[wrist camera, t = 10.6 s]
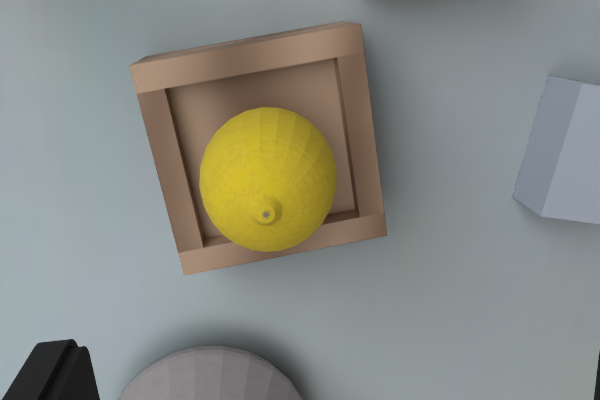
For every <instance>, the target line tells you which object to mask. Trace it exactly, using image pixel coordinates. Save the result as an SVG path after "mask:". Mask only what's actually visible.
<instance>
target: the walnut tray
mask: <svg viewBox="0 0 600 400" xmlns="http://www.w3.org/2000/svg"><path fill="white" fill-rule="evenodd" d="M129 66H130V70H131V74H132V78H133V82H134V85H135V89H136V93H137V97H138V101H139V104H140V108H141V112H142V116H143V120H144V124H145V127H146V131H147V135H148V139H149V143H150V146H151V150H152V154H153V158H154V162H155V166H156V169H157V173H158V177H159V181H160V185H161V189H162V192H163V196H164V200H165V204H166V208H167V211H168V215H169V219H170V223H171V227H172V231H173V234H174V238H175V242H176V246H177V250H178V254H179V257H180V261H181V265H182V269H183V273H184V275H189V274H194V273H199V272H204V271H209V270H214V269H219V268H224V267H229V266H234V265H239V264H244V263H249V262H254V261H260V260H265V259H270V258H275V257H280V256H285V255H290V254H295V253H300V252H305V251H310V250H315V249H320V248H325V247H330V246H335V245H340V244H345V243H351V242H356V241H361V240H366V239H371V238H376V237H381V236H386V235H387V231H386V223H385V215H384V207H383V199H382V191H381V183H380V175H379V167H378V159H377V151H376V143H375V135H374V127H373V119H372V110H371V102H370V94H369V86H368V78H367V70H366V62H365V54H364V46H363V38H362V30H361V24H357V23H349V22H342V21H341V22H336V23H330V24H325V25H319V26H314V27H308V28H302V29H297V30H291V31H286V32H280V33H274V34H269V35H263V36H258V37H252V38H246V39H241V40H235V41H230V42H224V43H219V44H213V45H207V46H202V47H196V48H191V49H185V50H179V51H174V52H168V53H163V54H157V55H152V56H146V57H144V58H142V59H140V60H139V61H137V62H135V63H133V64H131V65H129ZM261 107H275V108H282V109H285V110H289V111H292V112H295V113H297V114H298V115H300V116H302V117H304V118H305V119H307V120H309V121H310V122H311V123H312V124H313V125H314V126H315V127H316V128H317V129H318V130H319V131H320V132H321V133H322V134H323V136H324V138H325V139H326V141H327V143H328V144H329V146H330V148H331V150H332V154H333V157H334V161H335V164H336V169H337V187H336V192H335V196H334V199H333V203H332V207H331V209H330V211H329V213H328V214H327V216H326V218H325V220H324V221H323V223H322V225H321V226H320V227H319V228H318V229H317V230H316V231H315V232H314V233H313V234H312V235H311V236H310V237H309V238H307V239H306V240H304V241H302V242H301V243H299V244H298V245H296V246H293V247H290V248H287V249H284V250H281V251H271V252H263V251H255V250H250V249H247V248H245V247H242V246H239V245H237V244H236V243H234V242H233V241H231V240H230V239H228V238H227V237H225V236H224V235H223V234H222V233H221V232H220V231H219V230H218V229H217V227H216V226H215V225H214V224H213V223H212V221H211V219H210V217H209V215H208V213H207V211H206V210H205V208H204V205H203V200H202V196H201V192H200V186H199V184H200V166H201V162H202V159H203V156H204V153H205V150H206V147H207V145H208V144H209V142H210V141H211V139H212V137H213V136H214V134H215V133H216V131H217V130H218V129H220V128H221V127H222V126H223V125H224V124H225V123H226V122H227V121H229V120H230V119H231V118H233V117H235V116H237V115H239V114H241V113H243V112H245V111H247V110H252V109H256V108H261Z"/></svg>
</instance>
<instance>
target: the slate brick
mask: <svg viewBox="0 0 600 400" xmlns="http://www.w3.org/2000/svg"><path fill="white" fill-rule="evenodd" d="M512 197H513V198H515V199H516V200H518V201H519V202H520V203H522V204H523V205H525V206H526V207H528V208H529V209H531V210H532V211H533V212H535V213H536V214H538V215H539V216H541V217H548V218H556V219H563V220H571V221H579V222H586V223H594V224H600V84H595V83H590V82H584V81H578V80H572V79H566V78H560V77H555V76H549V75H548V76H547V79H546V83H545V86H544V90H543V93H542V96H541V100H540V103H539V107H538V110H537V113H536V117H535V120H534V124H533V127H532V131H531V134H530V137H529V141H528V144H527V148H526V151H525V154H524V158H523V161H522V165H521V168H520V171H519V175H518V178H517V182H516V185H515V188H514V192H513V195H512Z"/></svg>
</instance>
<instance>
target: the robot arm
mask: <svg viewBox="0 0 600 400" xmlns="http://www.w3.org/2000/svg"><path fill="white" fill-rule="evenodd" d="M2 400H100V398H99V394H98V389H97V385H96V381H95V376H94V372H93V367H92V363H91V358H90V354H89V351H88V349H87V347H85V346H82V347H78V345H77V343H76V342H75V340H73V339H69V340H60V341H51V342H41V343H38V344H37V345H36V346H35V347H34V349H33V350H32V352H31V354H30V355H29V357H28V359H27V360H26V362H25V363H24V365H23V367H22V368H21V370H20V371H19V373H18V375H17V376H16V378H15V380H14V381H13V383H12V384H11V386H10V388H9V389H8V391H7V392H6V394H5V396H4V397H3V399H2ZM594 400H600V353H599V361H598V369H597V378H596V386H595V394H594Z"/></svg>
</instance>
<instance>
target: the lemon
mask: <svg viewBox="0 0 600 400" xmlns="http://www.w3.org/2000/svg"><path fill="white" fill-rule="evenodd" d="M199 186H200V192H201V196H202V200H203V205H204V208H205V210H206V211H207V213H208V215H209V217H210V219H211V221H212V223H213V224H214V225H215V226H216V227H217V229H218V230H219V231H220V232H221V233H222V234H223V235H224V236H225V237H227V238H228V239H230V240H231V241H233V242H234V243H236V244H237V245H239V246H242V247H245V248H247V249H250V250H255V251H263V252H271V251H281V250H284V249H287V248H290V247H293V246H296V245H298V244H299V243H301V242H302V241H304V240H306V239H307V238H309V237H310V236H311V235H312V234H313V233H314V232H315V231H316V230H317V229H318V228H319V227H320V226H321V225H322V223H323V221H324V220H325V218H326V216H327V214H328V213H329V211H330V209H331V207H332V203H333V199H334V196H335V192H336V187H337V169H336V164H335V161H334V157H333V154H332V150H331V148H330V146H329V144H328V143H327V141H326V139H325V138H324V136H323V134H322V133H321V132H320V131H319V130H318V129H317V128H316V127H315V126H314V125H313V124H312V123H311V122H310V121H309V120H307V119H305V118H304V117H302V116H300V115H298V114H297V113H295V112H292V111H289V110H285V109H282V108H275V107H261V108H256V109H252V110H247V111H245V112H243V113H241V114H239V115H237V116H235V117H233V118H231V119H230V120H229V121H227V122H226V123H225V124H224V125H223V126H222V127H221V128H220V129H218V130H217V131H216V133H215V134H214V136H213V137H212V139H211V141H210V142H209V144H208V145H207V147H206V150H205V153H204V156H203V159H202V162H201V166H200V184H199Z"/></svg>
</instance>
